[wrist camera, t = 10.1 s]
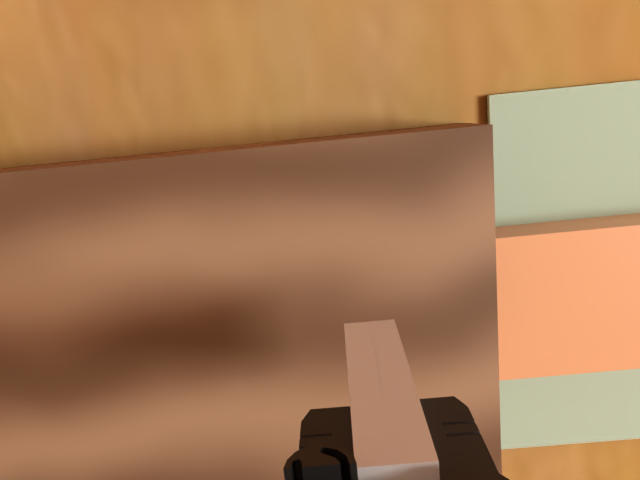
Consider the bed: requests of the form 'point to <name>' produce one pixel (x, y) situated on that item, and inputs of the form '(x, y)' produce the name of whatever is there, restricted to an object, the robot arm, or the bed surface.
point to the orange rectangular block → (568, 296)
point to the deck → (236, 297)
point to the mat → (566, 204)
